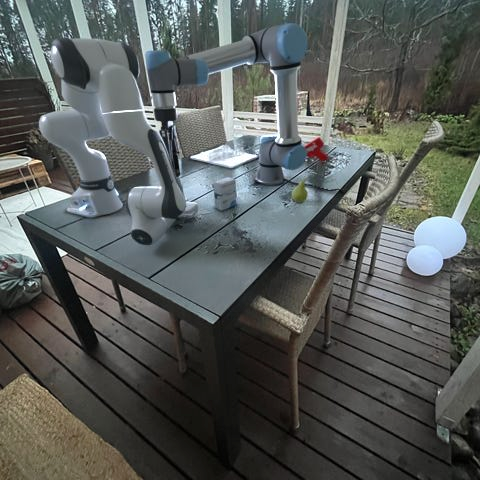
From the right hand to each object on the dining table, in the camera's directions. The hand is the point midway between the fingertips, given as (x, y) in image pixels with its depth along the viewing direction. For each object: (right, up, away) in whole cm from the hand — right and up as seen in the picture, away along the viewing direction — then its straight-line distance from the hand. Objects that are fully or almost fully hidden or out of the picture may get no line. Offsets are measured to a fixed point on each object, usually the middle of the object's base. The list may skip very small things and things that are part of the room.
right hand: (174, 174), depth 102 cm
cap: (0, +1, -1) cm, 1 cm away
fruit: (+51, -8, +19) cm, 56 cm away
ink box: (+18, -10, +16) cm, 27 cm away
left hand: (0, -8, +6) cm, 11 cm away
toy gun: (+69, +25, +70) cm, 102 cm away
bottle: (0, -15, +9) cm, 17 cm away
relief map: (+14, +29, +78) cm, 84 cm away
